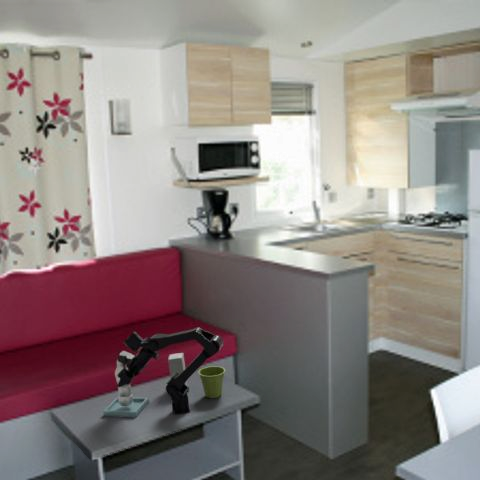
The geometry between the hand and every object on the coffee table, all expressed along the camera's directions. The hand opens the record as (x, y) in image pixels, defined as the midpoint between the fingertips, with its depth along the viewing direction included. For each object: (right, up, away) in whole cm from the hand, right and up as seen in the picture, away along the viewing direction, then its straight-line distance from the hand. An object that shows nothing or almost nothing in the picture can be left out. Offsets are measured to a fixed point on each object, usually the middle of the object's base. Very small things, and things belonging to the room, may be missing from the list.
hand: (121, 383), depth 284 cm
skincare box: (+23, -7, +20) cm, 31 cm away
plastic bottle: (+2, -10, +1) cm, 10 cm away
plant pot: (+39, -7, +9) cm, 41 cm away
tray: (+2, -11, +2) cm, 12 cm away
